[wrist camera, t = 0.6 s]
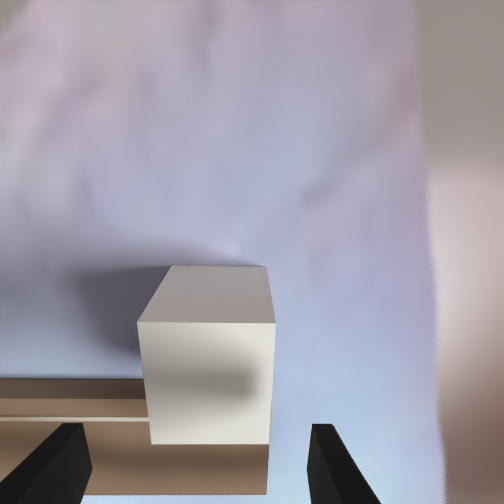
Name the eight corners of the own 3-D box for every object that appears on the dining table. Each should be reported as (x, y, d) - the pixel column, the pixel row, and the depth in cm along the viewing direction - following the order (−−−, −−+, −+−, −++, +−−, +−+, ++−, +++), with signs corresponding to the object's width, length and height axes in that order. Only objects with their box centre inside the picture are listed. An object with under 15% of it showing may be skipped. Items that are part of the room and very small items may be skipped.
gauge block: (262, 362, 18) (268, 449, 13) (179, 362, 18) (152, 449, 13) (266, 266, 16) (275, 323, 11) (172, 264, 16) (136, 321, 11)
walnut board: (265, 471, 21) (266, 496, 20) (-176, 471, 21) (-210, 497, 19) (269, 380, 19) (271, 401, 17) (-238, 377, 18) (-282, 398, 16)
